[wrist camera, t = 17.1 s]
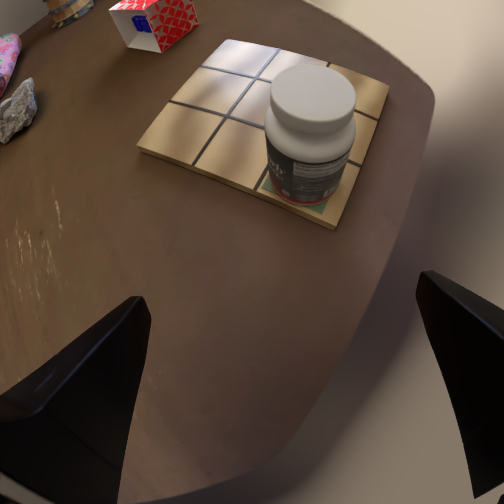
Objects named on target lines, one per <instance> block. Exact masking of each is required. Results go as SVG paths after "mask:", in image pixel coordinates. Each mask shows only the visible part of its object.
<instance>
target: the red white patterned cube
mask: <svg viewBox="0 0 504 504" xmlns="http://www.w3.org/2000/svg"><path fill="white" fill-rule="evenodd" d="M109 12H110V14H111V16H112V18H113V20H114V22H115V24H116V26H117V28H118V30H119V32H120V34H121V36H122V38H123V40H124V41H125V43H126V45H127V47H130V48H136V49H142V50H148V51H153V52H158V53H163V52H164V51H165V50H166V49H167V48H169V47H170V46H171V45H172V44H174V43H175V42H176V41H177V40H179V39H180V38H181V37H182V36H184V35H185V34H186V33H188V32H189V31H190V30H192V29H193V28H194V27H196V26H197V25H199V22H198V19H197V15H196V12H195V8H194V5H193V1H192V0H122V1H121V2H119V3H118V4H116V5H115V6H113V7H112V8H111V9H109Z"/></svg>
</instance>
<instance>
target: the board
mask: <svg viewBox="0 0 504 504" xmlns="http://www.w3.org/2000/svg"><path fill="white" fill-rule="evenodd" d="M300 64H315V65H321V66H325V67H328V68H331V69H333V70H335V71H337V72H339V73H340V74H342V75H343V76H344V77H346V78H347V79H348V80H349V82H350V83H351V84H352V85H353V87H354V89H355V92H356V105H355V110H354V114H353V116H354V118H355V122H356V135H355V140H354V143H353V146H352V149H351V152H350V155H349V158H348V160H347V163H346V166H345V169H344V172H343V175H342V178H341V180H340V183H339V186H338V187H337V189H336V191H335V192H334V194H333V195H332V196H331V197H330V198H328V199H327V200H325V201H324V202H321V203H319V204H316V205H298V204H294V203H291V202H289V201H287V200H285V199H284V198H283V197H281V196H280V195H279V194H278V193H277V192H276V190H275V189H274V188H273V186H272V184H271V181H270V177H269V170H268V159H267V147H266V138H265V129H264V123H265V115H266V112H267V109H268V107H269V106H270V87H271V83H272V81H273V79H274V78H275V76H276V75H277V74H278V73H280V72H281V71H282V70H284V69H286V68H289V67H291V66H295V65H300ZM389 88H390V86H388V85H386V84H384V83H381V82H379V81H377V80H374V79H372V78H369V77H367V76H364V75H362V74H359V73H356V72H353V71H351V70H348V69H345V68H342V67H339V66H336V65H333V64H331V63H330V62H328V63H327V62H324V61H321V60H318V59H314V58H311V57H307V56H304V55H300V54H296V53H292V52H289V51H285V50H281V49H279V48H278V49H276V48H272V47H267V46H262V45H257V44H252V43H247V42H241V41H235V40H229V39H227V40H226V41H225V42H224V43H223V44H222V45H221V46H220V47H219V48H218V49H217V50H216V51H215V52H214V53H213V54H212V55H211V56H210V57H209V58H208V59H207V60H206V61H205V62H204V63H203V64H202V65H200V66H199V68H198V69H197V71H196V72H195V73H194V74H193V75H192V76H191V77H190V78H189V79H188V81H187V82H186V83H185V84H184V85H183V86H182V87H181V89H180V90H179V91H178V92H177V93H176V94H175V96H174V97H173V98H172V99H171V100H169V103H168V104H167V105H166V106H165V108H164V109H163V110H162V111H161V113H160V114H159V115H158V116H157V118H156V119H155V120H154V122H153V123H152V124H151V125H150V127H149V128H148V129H147V131H146V132H145V133H144V135H143V136H142V137H141V139H140V140H139V142H138V143H137V144H136V146H137V147H138V149H139V150H140V151H141V152H144V153H147V154H149V155H152V156H155V157H157V158H160V159H163V160H166V161H168V162H171V163H174V164H176V165H179V166H181V167H184V168H187V169H189V170H192V171H194V172H197V173H199V174H202V175H205V176H207V177H210V178H212V179H215V180H217V181H220V182H222V183H224V184H227V185H229V186H232V187H234V188H237V189H239V190H241V191H244V192H246V193H249V194H251V195H253V196H256V197H258V198H260V199H263V200H265V201H267V202H270V203H272V204H274V205H277V206H279V207H281V208H284V209H286V210H288V211H290V212H293V213H295V214H297V215H299V216H302V217H304V218H306V219H308V220H310V221H313V222H315V223H317V224H319V225H321V226H323V227H326V228H328V229H330V230H332V231H334V230H335V228H336V226H337V224H338V222H339V219H340V217H341V215H342V212H343V210H344V207H345V205H346V203H347V200H348V198H349V195H350V193H351V191H352V188H353V186H354V183H355V181H356V178H357V176H358V173H359V171H360V168H361V166H362V163H363V160H364V158H365V155H366V152H367V150H368V147H369V145H370V142H371V139H372V136H373V134H374V131H375V128H376V125H377V123H378V120H379V117H380V114H381V111H382V108H383V105H384V103H385V100H386V97H387V94H388V91H389Z"/></svg>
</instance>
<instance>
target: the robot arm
mask: <svg viewBox="0 0 504 504" xmlns="http://www.w3.org/2000/svg"><path fill="white" fill-rule="evenodd" d="M416 300H417V303H418V306H419V309H420V313H421V316H422V319H423V322H424V326H425V329H426V333H427V336H428V338H429V341H430V344H431V346H432V349H433V351H434V354H435V357H436V359H437V362H438V365H439V367H440V370H441V372H442V376H443V378H444V381H445V384H446V387H447V390H448V393H449V396H450V399H451V403H452V406H453V409H454V412H455V416H456V419H457V423H458V426H459V430H460V434H461V438H462V442H463V444H464V451H465V455H466V459H467V464H468V469H469V474H470V479H471V484H472V490H473V495H474V499H476V498H477V497H480V496H481V495H483V494H485V493H487V492H489V491H491V490H492V489H494V488H496V487H497V486H499V485H501V484H502V483H504V310H503V309H501V308H499V307H498V306H496V305H494V304H493V303H491V302H489V301H487V300H486V299H484V298H482V297H480V296H478V295H477V294H475V293H473V292H472V291H469V290H468V289H466V288H464V287H462V286H461V285H459V284H457V283H455V282H453V281H452V280H450V279H448V278H446V277H444V276H442V275H440V274H438V273H436V272H435V271H433V270H430V271H423V272H421V274H420V276H419V280H418V284H417V289H416ZM150 327H151V315H150V312H149V310H148V307H147V305H146V302H145V300H144V298H143V297H142V296H131V297H129V298H128V299H127V300H125V301H124V302H123V303H121V304H120V305H119V306H117V307H116V308H115V309H113V310H112V311H111V312H110V313H108V314H107V315H106V316H104V317H103V318H102V319H100V320H99V321H98V322H97V323H95V324H94V325H93V326H91V327H90V328H89V329H88V330H86V331H85V332H84V333H82V334H81V335H80V336H79V337H77V338H76V339H75V340H74V341H72V342H71V343H70V344H68V345H67V346H66V347H65V348H63V349H62V350H61V351H60V352H58V354H56V355H55V356H53V357H52V358H51V359H50V360H48V361H47V362H46V363H45V364H43V365H42V366H41V367H40V368H38V369H37V370H35V371H34V372H33V373H31V374H30V375H29V376H27V377H26V378H24V379H23V380H22V381H20V382H19V383H17V384H16V385H15V386H13V387H12V388H10V389H9V390H8V391H6V392H5V393H3V394H2V395H0V504H117V499H118V492H119V486H120V480H121V474H122V473H121V472H122V467H123V461H124V455H125V450H126V445H127V440H128V435H129V430H130V425H131V420H132V415H133V411H134V406H135V402H136V397H137V393H138V389H139V385H140V381H141V377H142V372H143V369H144V364H145V360H146V354H147V347H148V340H149V333H150ZM497 504H504V494H503V495H501V497H500V499H499V502H498V503H497Z"/></svg>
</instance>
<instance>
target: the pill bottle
mask: <svg viewBox="0 0 504 504" xmlns="http://www.w3.org/2000/svg"><path fill="white" fill-rule="evenodd" d="M355 105H356V92H355V89H354V87H353V85H352V84H351V83H350V82H349V80H348V79H347V78H346V77H344V76H343V75H342V74H340V73H339V72H337V71H335V70H333V69H331V68H328V67H325V66H321V65H315V64H300V65H295V66H291V67H289V68H286V69H284V70H282V71H281V72H280V73H278V74H277V75H276V76H275V78H274V79H273V81H272V83H271V87H270V106H269V107H268V109H267V112H266V115H265V123H264V129H265V138H266V147H267V159H268V170H269V177H270V181H271V184H272V186H273V188H274V189H275V190H276V192H277V193H278V194H279V195H280V196H281V197H283V198H284V199H285V200H287V201H289V202H291V203H294V204H298V205H316V204H319V203H321V202H324V201H325V200H327V199H328V198H330V197H331V196H332V195H333V194H334V192H335V191H336V189H337V187H338V186H339V183H340V180H341V178H342V175H343V172H344V169H345V166H346V163H347V160H348V158H349V155H350V152H351V149H352V146H353V143H354V140H355V135H356V122H355V118H354V116H353V114H354V110H355Z"/></svg>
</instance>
